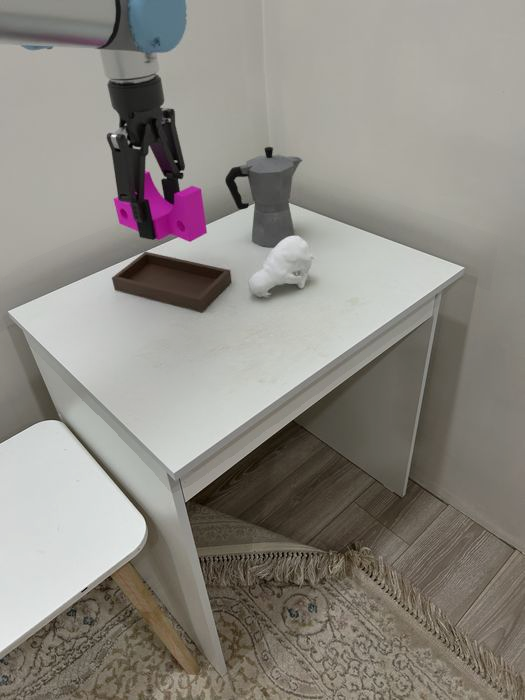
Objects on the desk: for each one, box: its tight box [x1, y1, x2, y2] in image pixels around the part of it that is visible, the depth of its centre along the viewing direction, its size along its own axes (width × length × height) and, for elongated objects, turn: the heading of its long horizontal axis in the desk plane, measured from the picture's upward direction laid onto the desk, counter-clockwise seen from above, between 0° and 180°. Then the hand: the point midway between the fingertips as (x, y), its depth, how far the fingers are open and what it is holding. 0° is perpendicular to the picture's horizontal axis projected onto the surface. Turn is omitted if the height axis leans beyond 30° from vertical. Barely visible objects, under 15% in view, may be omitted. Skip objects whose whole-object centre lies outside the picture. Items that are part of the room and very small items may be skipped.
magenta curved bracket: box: [113, 170, 208, 243], centre depth 88 cm, size 15×6×8 cm, turn 49°
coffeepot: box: [224, 146, 303, 248], centre depth 104 cm, size 15×9×18 cm, turn 113°
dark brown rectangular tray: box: [111, 251, 232, 313], centre depth 97 cm, size 19×10×3 cm, turn 63°
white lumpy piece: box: [248, 235, 314, 298], centre depth 93 cm, size 6×8×12 cm
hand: (162, 226), depth 91 cm, fingers closed on magenta curved bracket, 7 cm apart
